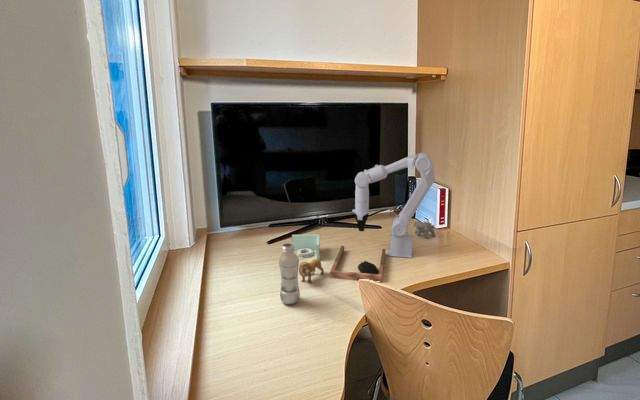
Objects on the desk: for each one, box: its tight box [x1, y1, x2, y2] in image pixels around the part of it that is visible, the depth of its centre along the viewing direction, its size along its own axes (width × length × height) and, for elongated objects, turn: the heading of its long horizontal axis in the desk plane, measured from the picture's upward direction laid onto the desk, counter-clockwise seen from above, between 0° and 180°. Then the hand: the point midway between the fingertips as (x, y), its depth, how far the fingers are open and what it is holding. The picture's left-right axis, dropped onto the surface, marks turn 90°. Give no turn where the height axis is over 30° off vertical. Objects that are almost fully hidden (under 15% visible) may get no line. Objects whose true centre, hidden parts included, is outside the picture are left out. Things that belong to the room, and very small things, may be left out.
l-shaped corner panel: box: [291, 233, 321, 260], centre depth 152 cm, size 12×12×8 cm
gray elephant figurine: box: [413, 221, 436, 239], centre depth 169 cm, size 9×12×8 cm
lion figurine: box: [298, 258, 324, 284], centre depth 131 cm, size 15×5×9 cm, turn 153°
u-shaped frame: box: [329, 245, 386, 283], centre depth 142 cm, size 19×25×2 cm
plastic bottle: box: [278, 242, 301, 305], centre depth 114 cm, size 6×7×20 cm
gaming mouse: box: [357, 260, 379, 274], centre depth 138 cm, size 6×15×4 cm, turn 11°
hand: (361, 230), depth 154 cm, fingers closed
